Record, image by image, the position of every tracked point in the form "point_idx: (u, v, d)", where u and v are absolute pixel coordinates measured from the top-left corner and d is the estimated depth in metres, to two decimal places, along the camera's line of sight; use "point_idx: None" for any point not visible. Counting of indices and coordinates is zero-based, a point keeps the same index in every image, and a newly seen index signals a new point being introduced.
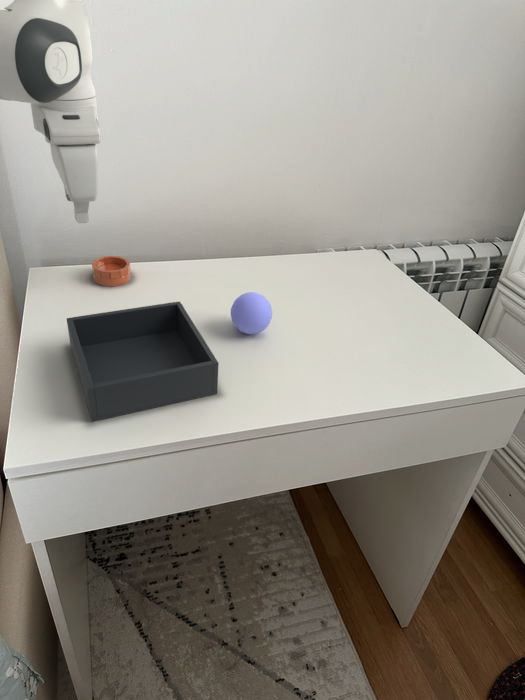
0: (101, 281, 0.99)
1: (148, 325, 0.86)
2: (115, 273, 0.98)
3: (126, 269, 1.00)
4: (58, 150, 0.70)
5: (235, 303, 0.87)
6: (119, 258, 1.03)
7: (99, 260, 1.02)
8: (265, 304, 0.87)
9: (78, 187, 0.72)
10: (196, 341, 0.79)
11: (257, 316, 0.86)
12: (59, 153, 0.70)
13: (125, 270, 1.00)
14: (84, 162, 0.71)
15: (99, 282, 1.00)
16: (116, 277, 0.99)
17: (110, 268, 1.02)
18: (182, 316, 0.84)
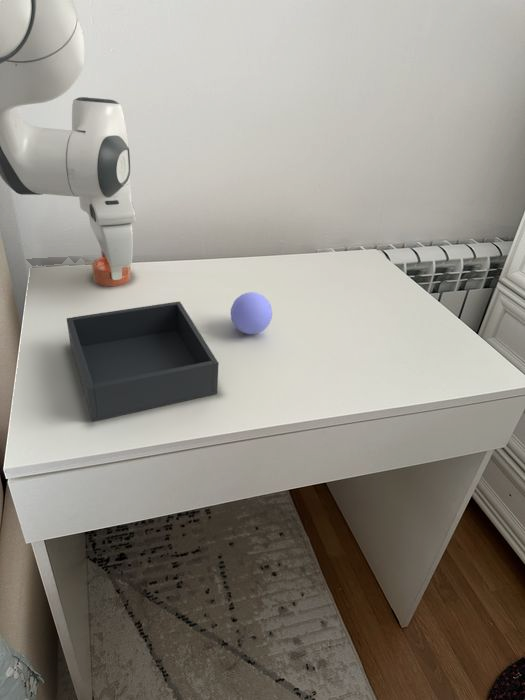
0: (101, 281, 0.99)
1: (148, 325, 0.86)
2: None
3: (126, 269, 1.00)
4: (102, 229, 0.88)
5: (235, 303, 0.87)
6: None
7: (99, 260, 1.02)
8: (265, 304, 0.87)
9: (117, 257, 0.90)
10: (196, 341, 0.79)
11: (257, 316, 0.86)
12: (103, 232, 0.88)
13: (125, 270, 1.00)
14: (122, 238, 0.89)
15: (99, 282, 1.00)
16: None
17: None
18: (182, 316, 0.84)
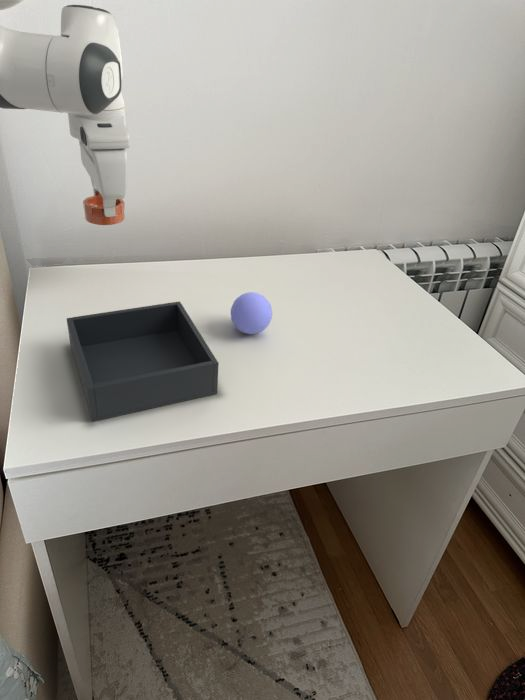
0: (93, 219, 0.92)
1: (148, 325, 0.86)
2: None
3: (120, 207, 0.93)
4: (93, 154, 0.81)
5: (235, 303, 0.87)
6: None
7: (91, 198, 0.95)
8: (265, 304, 0.87)
9: (110, 186, 0.83)
10: (196, 341, 0.79)
11: (257, 316, 0.86)
12: (94, 156, 0.81)
13: (119, 208, 0.93)
14: (116, 164, 0.82)
15: (91, 221, 0.93)
16: None
17: None
18: (182, 316, 0.84)
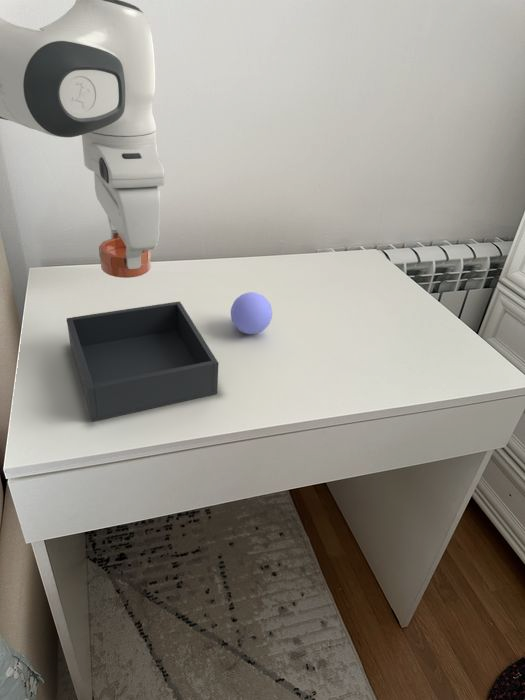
0: (112, 271, 0.72)
1: (148, 325, 0.86)
2: None
3: (146, 254, 0.73)
4: (117, 194, 0.61)
5: (235, 303, 0.87)
6: None
7: (109, 242, 0.75)
8: (265, 304, 0.87)
9: (138, 235, 0.63)
10: (196, 341, 0.79)
11: (257, 316, 0.86)
12: (119, 198, 0.61)
13: (145, 256, 0.73)
14: (146, 207, 0.62)
15: (109, 272, 0.73)
16: None
17: (124, 254, 0.75)
18: (182, 316, 0.84)
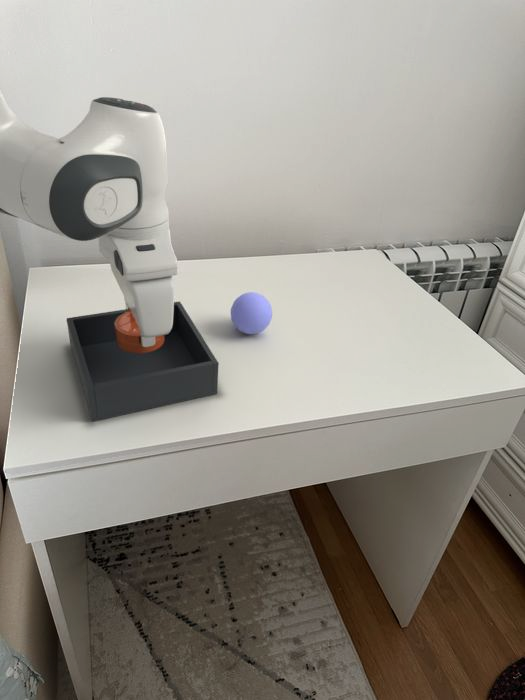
0: (127, 347, 0.74)
1: None
2: None
3: None
4: (132, 287, 0.62)
5: (235, 303, 0.87)
6: None
7: (124, 317, 0.76)
8: (265, 304, 0.87)
9: (152, 324, 0.64)
10: (196, 341, 0.79)
11: (257, 316, 0.86)
12: (133, 290, 0.62)
13: None
14: (160, 297, 0.63)
15: (124, 348, 0.74)
16: None
17: (138, 327, 0.76)
18: (182, 316, 0.84)
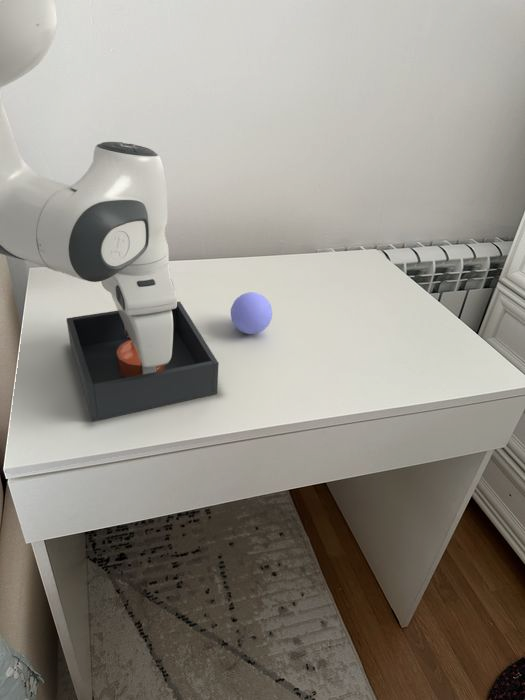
0: (129, 375, 0.77)
1: None
2: None
3: None
4: (133, 321, 0.65)
5: (235, 303, 0.87)
6: None
7: (125, 345, 0.79)
8: (265, 304, 0.87)
9: (152, 355, 0.67)
10: (196, 341, 0.79)
11: (257, 316, 0.86)
12: (134, 324, 0.65)
13: None
14: (160, 330, 0.66)
15: (126, 376, 0.77)
16: None
17: None
18: (182, 316, 0.84)
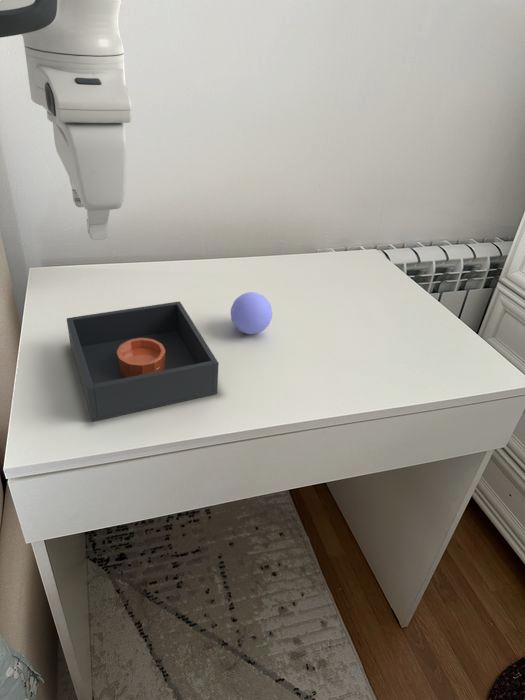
0: (129, 375, 0.77)
1: (148, 325, 0.86)
2: (147, 365, 0.76)
3: (161, 359, 0.77)
4: (67, 131, 0.46)
5: (235, 303, 0.87)
6: (151, 341, 0.80)
7: (125, 345, 0.79)
8: (265, 304, 0.87)
9: (96, 188, 0.48)
10: (196, 341, 0.79)
11: (257, 316, 0.86)
12: (69, 135, 0.46)
13: (160, 361, 0.77)
14: (107, 149, 0.47)
15: (126, 376, 0.77)
16: (148, 370, 0.76)
17: (140, 355, 0.79)
18: (182, 316, 0.84)
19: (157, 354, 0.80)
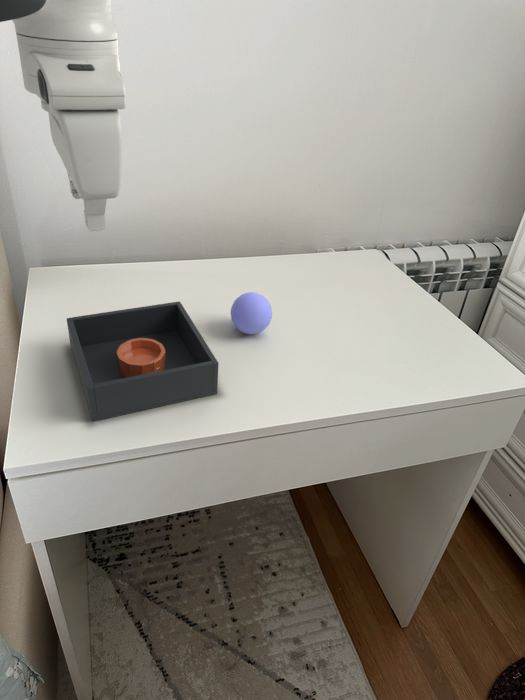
0: (129, 375, 0.77)
1: (148, 325, 0.86)
2: (147, 365, 0.76)
3: (161, 359, 0.77)
4: (61, 118, 0.45)
5: (235, 303, 0.87)
6: (151, 341, 0.80)
7: (125, 345, 0.79)
8: (265, 304, 0.87)
9: (92, 176, 0.47)
10: (196, 341, 0.79)
11: (257, 316, 0.86)
12: (63, 123, 0.45)
13: (160, 361, 0.77)
14: (101, 137, 0.46)
15: (126, 376, 0.77)
16: (148, 370, 0.76)
17: (140, 355, 0.79)
18: (182, 316, 0.84)
19: (157, 354, 0.80)
